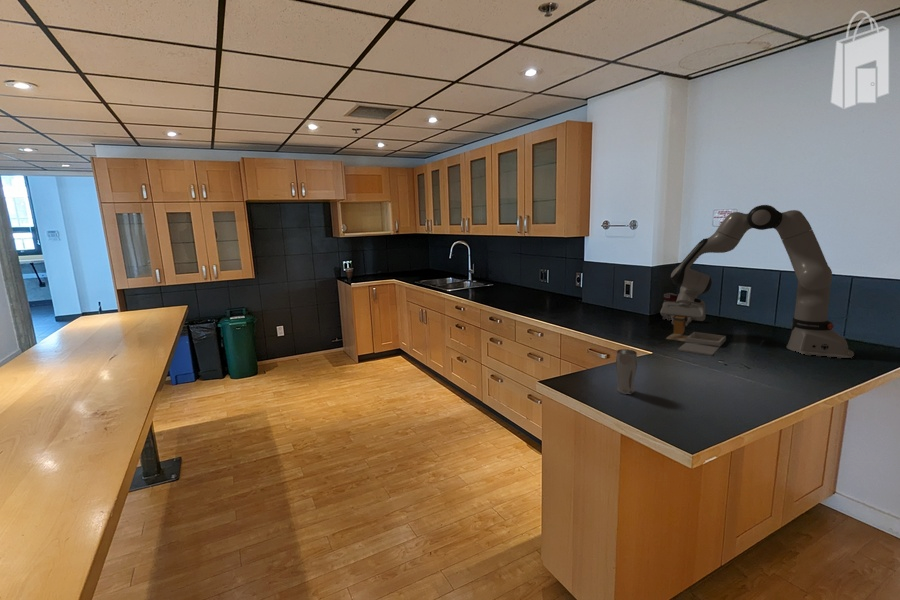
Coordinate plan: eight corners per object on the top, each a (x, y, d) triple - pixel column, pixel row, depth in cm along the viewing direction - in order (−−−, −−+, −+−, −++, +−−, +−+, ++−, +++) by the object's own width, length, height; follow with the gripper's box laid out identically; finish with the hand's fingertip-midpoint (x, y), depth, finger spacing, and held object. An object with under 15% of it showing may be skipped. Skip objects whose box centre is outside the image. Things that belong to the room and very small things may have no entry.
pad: (691, 337, 214) (692, 335, 214) (685, 343, 205) (685, 341, 205) (672, 335, 220) (672, 333, 220) (665, 340, 212) (665, 338, 211)
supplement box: (661, 319, 254) (663, 293, 251) (667, 318, 256) (668, 292, 253) (674, 321, 247) (676, 295, 244) (680, 320, 249) (681, 294, 246)
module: (684, 332, 212) (685, 317, 211) (682, 334, 209) (683, 318, 208) (675, 331, 215) (676, 316, 214) (673, 333, 212) (674, 317, 211)
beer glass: (618, 386, 157) (619, 347, 155) (638, 390, 153) (639, 350, 150) (612, 392, 152) (613, 352, 149) (632, 396, 148) (633, 356, 145)
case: (725, 341, 205) (726, 335, 204) (712, 356, 185) (712, 349, 185) (693, 337, 214) (693, 331, 214) (677, 350, 195) (678, 344, 194)
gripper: (663, 297, 221) (655, 318, 216) (707, 300, 207) (700, 324, 202) (665, 303, 225) (658, 325, 220) (708, 308, 211) (702, 331, 206)
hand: (679, 324), depth 211 cm, fingers closed on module, 4 cm apart
